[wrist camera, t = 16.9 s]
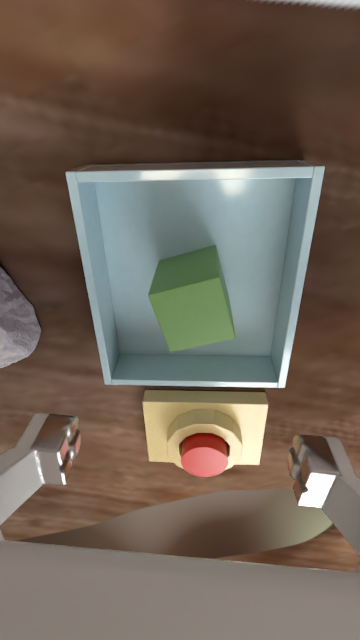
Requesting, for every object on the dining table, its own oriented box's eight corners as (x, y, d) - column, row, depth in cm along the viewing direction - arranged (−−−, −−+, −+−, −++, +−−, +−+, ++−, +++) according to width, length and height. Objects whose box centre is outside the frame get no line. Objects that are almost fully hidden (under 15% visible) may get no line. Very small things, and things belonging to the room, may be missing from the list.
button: (182, 460, 33) (181, 476, 32) (181, 431, 31) (180, 446, 30) (225, 462, 33) (226, 477, 32) (227, 432, 31) (229, 447, 29)
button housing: (151, 448, 37) (146, 476, 34) (144, 389, 33) (139, 415, 30) (256, 451, 37) (261, 480, 34) (265, 392, 32) (272, 419, 29)
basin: (116, 353, 31) (104, 384, 27) (87, 164, 22) (65, 171, 19) (274, 355, 30) (284, 388, 26) (304, 159, 22) (325, 166, 18)
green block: (176, 310, 27) (170, 353, 22) (158, 260, 25) (147, 294, 20) (229, 297, 26) (236, 338, 21) (215, 244, 24) (219, 276, 19)
